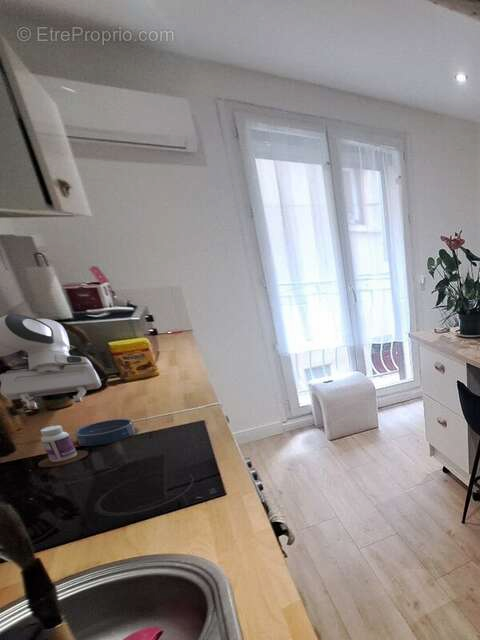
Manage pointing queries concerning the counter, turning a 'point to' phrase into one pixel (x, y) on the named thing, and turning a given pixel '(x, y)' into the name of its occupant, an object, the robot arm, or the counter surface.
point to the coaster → (49, 463)
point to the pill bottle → (57, 444)
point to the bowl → (105, 432)
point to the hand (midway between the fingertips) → (55, 404)
